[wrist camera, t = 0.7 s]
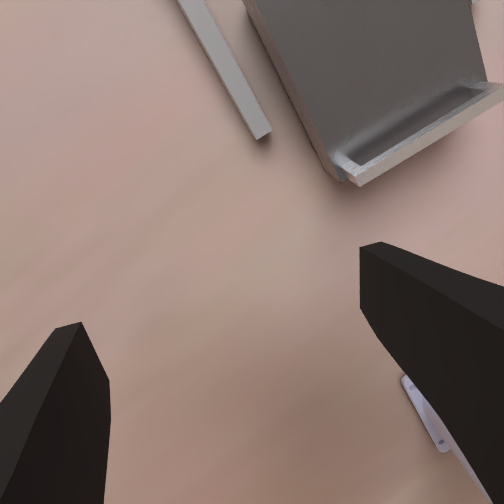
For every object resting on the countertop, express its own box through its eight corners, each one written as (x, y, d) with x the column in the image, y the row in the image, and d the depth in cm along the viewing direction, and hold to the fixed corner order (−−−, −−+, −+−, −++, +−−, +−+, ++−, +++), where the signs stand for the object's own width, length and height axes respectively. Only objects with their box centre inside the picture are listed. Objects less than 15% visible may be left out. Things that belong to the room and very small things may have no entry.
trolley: (446, 86, 19) (516, 96, 16) (318, 165, 20) (355, 193, 16) (390, -107, 16) (464, -159, 12) (235, -4, 16) (256, -20, 12)
